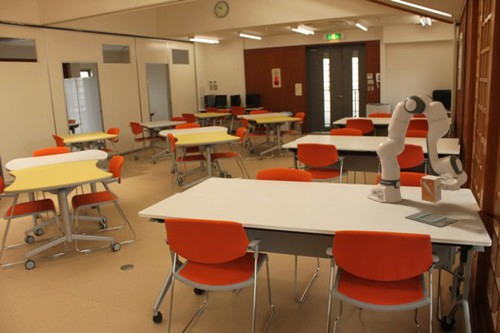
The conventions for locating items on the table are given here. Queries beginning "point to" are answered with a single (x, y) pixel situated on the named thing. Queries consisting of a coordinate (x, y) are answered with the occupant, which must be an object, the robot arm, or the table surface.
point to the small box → (431, 188)
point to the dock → (431, 219)
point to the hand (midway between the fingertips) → (430, 186)
